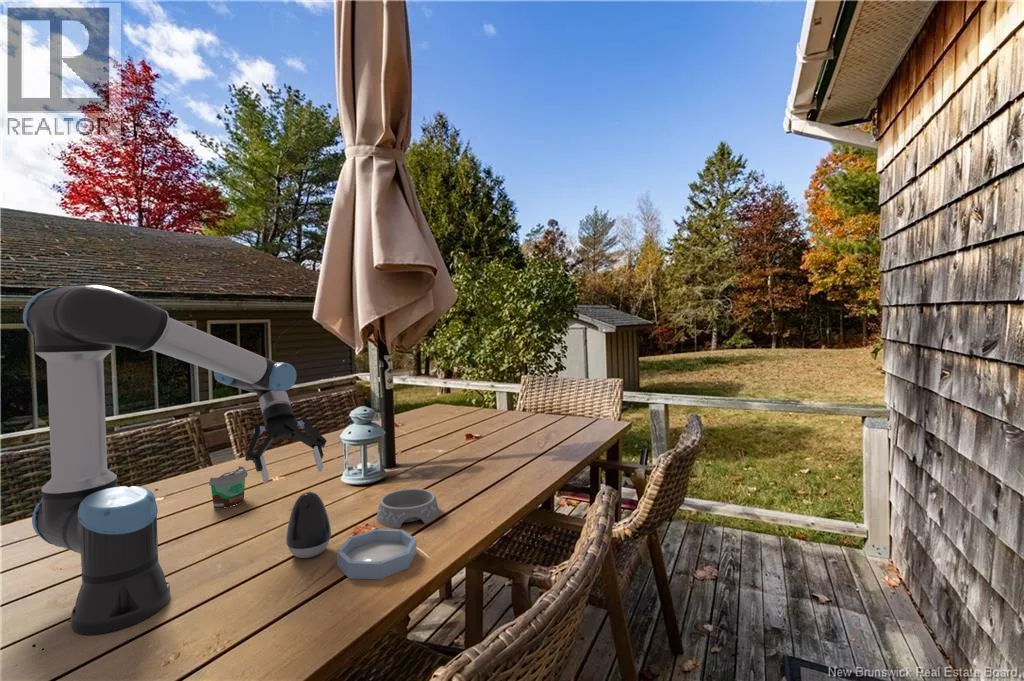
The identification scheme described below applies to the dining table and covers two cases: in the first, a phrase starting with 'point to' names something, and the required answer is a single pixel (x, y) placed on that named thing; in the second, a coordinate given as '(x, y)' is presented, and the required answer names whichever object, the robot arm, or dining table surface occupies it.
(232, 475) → the food container
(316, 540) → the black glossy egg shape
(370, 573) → the bowl
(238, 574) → the dining table surface
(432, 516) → the dog bowl
